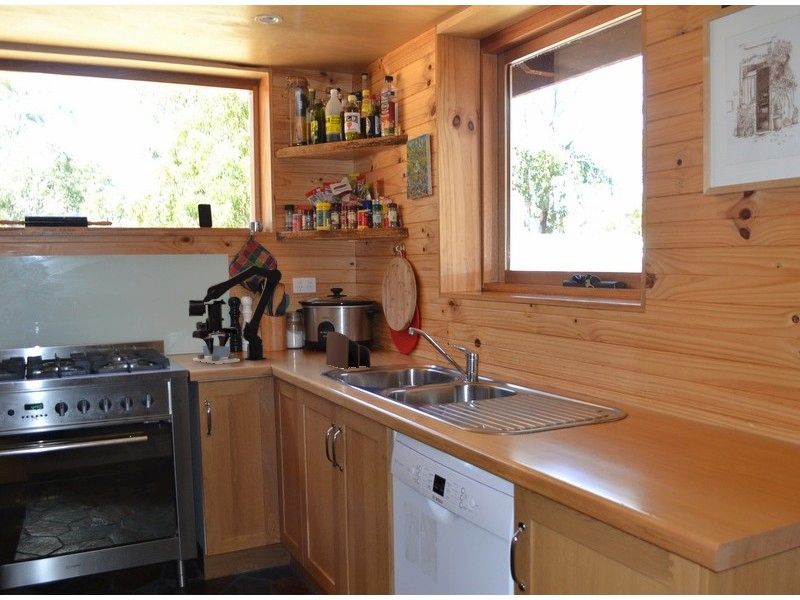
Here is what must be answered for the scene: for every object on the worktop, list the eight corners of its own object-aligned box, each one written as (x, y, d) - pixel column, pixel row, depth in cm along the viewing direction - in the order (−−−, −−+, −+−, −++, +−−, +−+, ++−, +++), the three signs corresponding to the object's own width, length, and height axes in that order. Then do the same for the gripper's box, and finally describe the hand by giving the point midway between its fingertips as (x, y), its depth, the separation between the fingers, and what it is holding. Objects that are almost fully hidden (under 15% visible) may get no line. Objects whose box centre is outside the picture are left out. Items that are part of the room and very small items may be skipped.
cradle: (239, 361, 294) (239, 354, 294) (219, 364, 287) (218, 357, 286) (213, 357, 306) (213, 351, 306) (193, 360, 298) (193, 353, 298)
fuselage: (229, 356, 294) (229, 346, 294) (220, 357, 291) (220, 347, 290) (209, 353, 303) (208, 344, 303) (200, 354, 300) (199, 345, 299)
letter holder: (346, 373, 263) (346, 334, 262) (326, 365, 281) (325, 330, 280) (371, 370, 268) (370, 333, 267) (349, 363, 286) (348, 328, 285)
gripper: (222, 313, 307) (223, 349, 308) (183, 316, 293) (185, 354, 294) (238, 314, 300) (239, 351, 301) (199, 317, 286) (201, 356, 287)
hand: (216, 353), depth 296 cm, fingers closed on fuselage, 4 cm apart
